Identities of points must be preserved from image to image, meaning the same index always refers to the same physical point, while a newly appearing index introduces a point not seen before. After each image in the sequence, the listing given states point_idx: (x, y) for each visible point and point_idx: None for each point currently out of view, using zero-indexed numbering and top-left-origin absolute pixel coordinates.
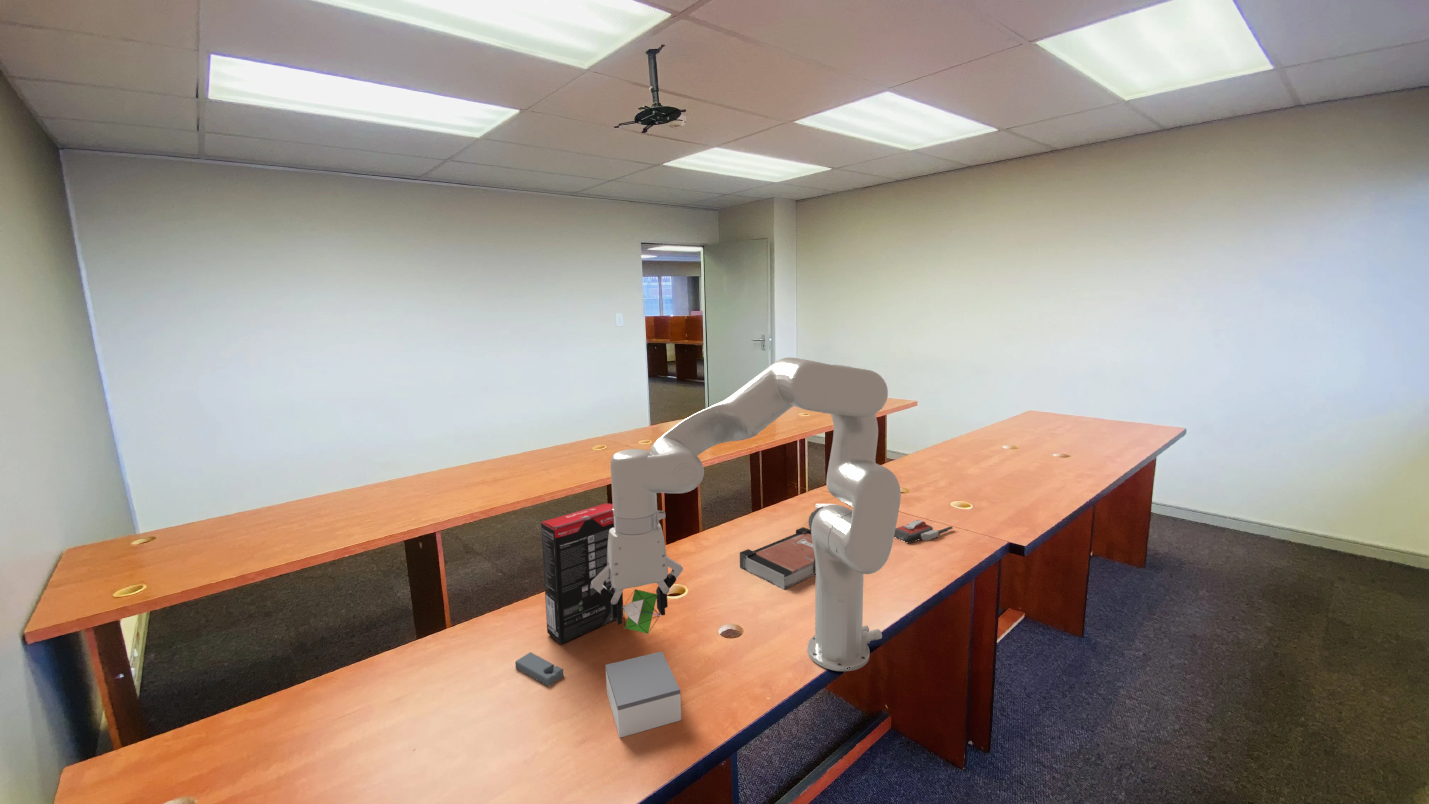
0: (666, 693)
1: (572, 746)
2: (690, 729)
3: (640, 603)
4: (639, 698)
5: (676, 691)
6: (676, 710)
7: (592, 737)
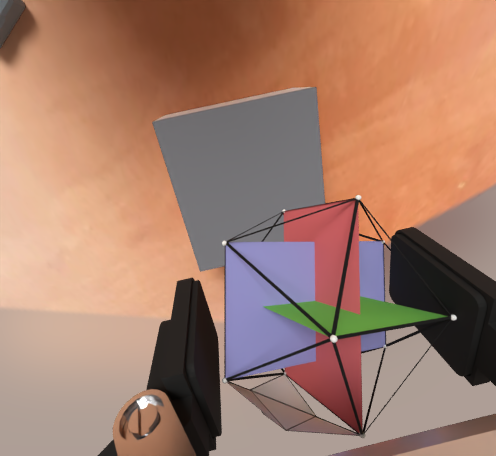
0: None
1: (123, 245)
2: None
3: (333, 429)
4: None
5: None
6: None
7: (154, 231)
